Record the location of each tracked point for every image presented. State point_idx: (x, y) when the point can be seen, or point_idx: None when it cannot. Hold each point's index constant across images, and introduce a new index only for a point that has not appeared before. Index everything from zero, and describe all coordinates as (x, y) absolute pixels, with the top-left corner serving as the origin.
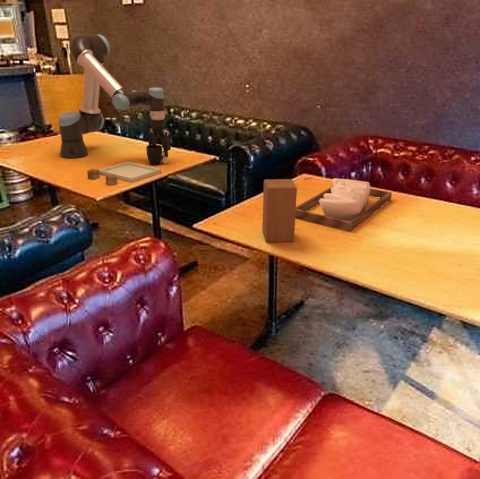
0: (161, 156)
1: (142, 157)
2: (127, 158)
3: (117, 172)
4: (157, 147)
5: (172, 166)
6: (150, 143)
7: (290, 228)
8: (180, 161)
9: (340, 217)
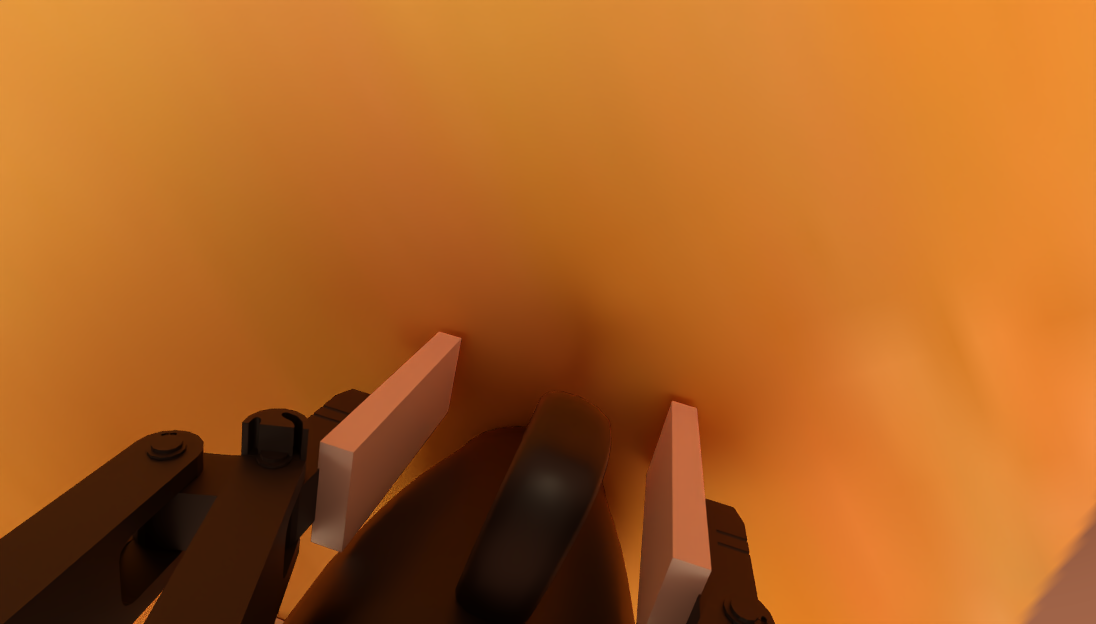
0: (629, 593)
1: (129, 219)
2: (24, 348)
3: None
4: (415, 597)
5: (864, 543)
6: (136, 606)
7: None
8: (894, 201)
9: None
